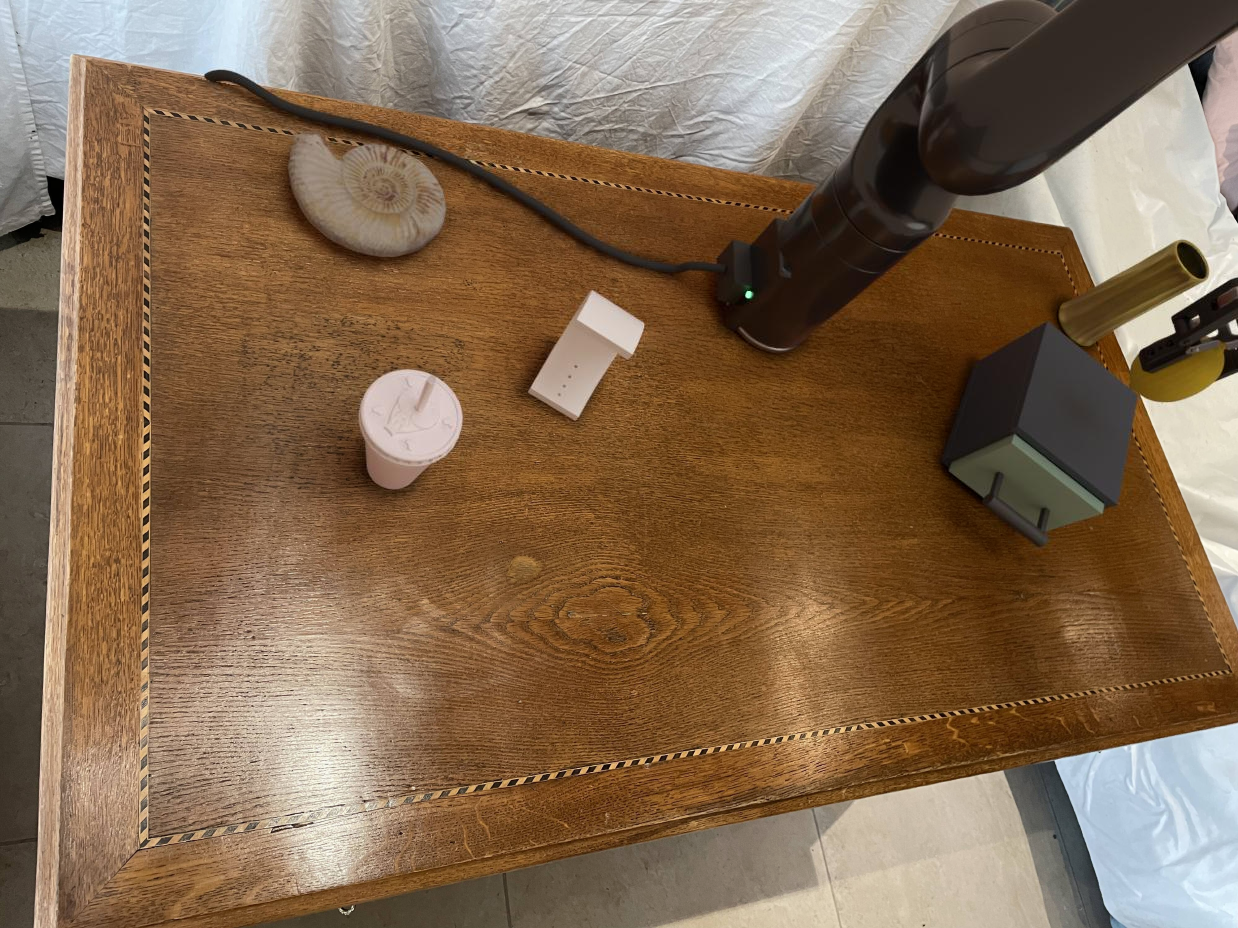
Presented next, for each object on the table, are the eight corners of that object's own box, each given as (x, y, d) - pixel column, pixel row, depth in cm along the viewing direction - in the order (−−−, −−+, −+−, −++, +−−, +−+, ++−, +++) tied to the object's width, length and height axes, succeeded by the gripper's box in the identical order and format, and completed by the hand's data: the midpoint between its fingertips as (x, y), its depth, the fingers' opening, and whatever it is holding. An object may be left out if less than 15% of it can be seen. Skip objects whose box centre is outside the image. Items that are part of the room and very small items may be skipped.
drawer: (1024, 569, 78) (1095, 549, 71) (937, 503, 76) (1001, 477, 70) (1056, 438, 87) (1122, 410, 80) (979, 377, 85) (1039, 343, 78)
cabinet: (1032, 531, 81) (1118, 504, 73) (940, 461, 80) (1017, 425, 71) (1057, 430, 89) (1138, 394, 80) (973, 363, 87) (1047, 320, 79)
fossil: (287, 241, 58) (288, 108, 58) (286, 260, 63) (287, 136, 63) (452, 258, 63) (452, 135, 63) (440, 275, 67) (440, 160, 68)
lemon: (1131, 423, 70) (1225, 385, 63) (1098, 368, 71) (1188, 325, 64) (1161, 406, 72) (1255, 367, 65) (1129, 353, 73) (1219, 310, 66)
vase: (1090, 311, 99) (1206, 245, 87) (1097, 353, 96) (1218, 291, 84) (1054, 297, 97) (1167, 228, 85) (1060, 339, 95) (1178, 274, 82)
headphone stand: (527, 392, 64) (576, 319, 54) (557, 339, 67) (609, 260, 57) (575, 421, 65) (632, 354, 55) (603, 368, 68) (663, 295, 58)
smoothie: (454, 471, 60) (500, 395, 47) (388, 524, 56) (420, 457, 44) (396, 409, 59) (428, 317, 47) (327, 458, 56) (342, 373, 44)
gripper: (1447, 244, 58) (1211, 350, 72) (1327, 189, 53) (1099, 314, 67) (1487, 332, 55) (1233, 424, 70) (1364, 283, 50) (1118, 393, 65)
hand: (1168, 369), depth 68 cm, fingers closed on lemon, 5 cm apart
